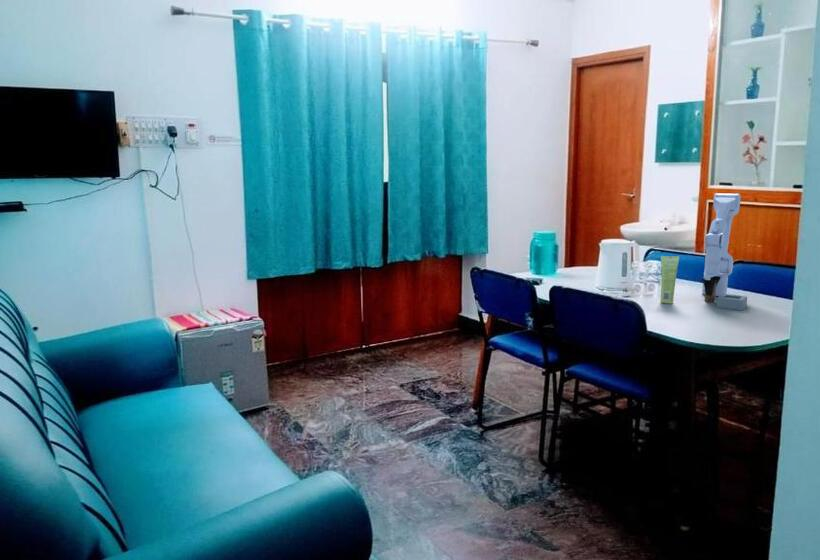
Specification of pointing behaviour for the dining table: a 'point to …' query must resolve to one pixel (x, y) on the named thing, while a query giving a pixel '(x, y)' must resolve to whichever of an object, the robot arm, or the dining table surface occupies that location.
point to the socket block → (732, 301)
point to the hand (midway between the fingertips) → (710, 294)
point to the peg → (711, 298)
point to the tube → (668, 277)
